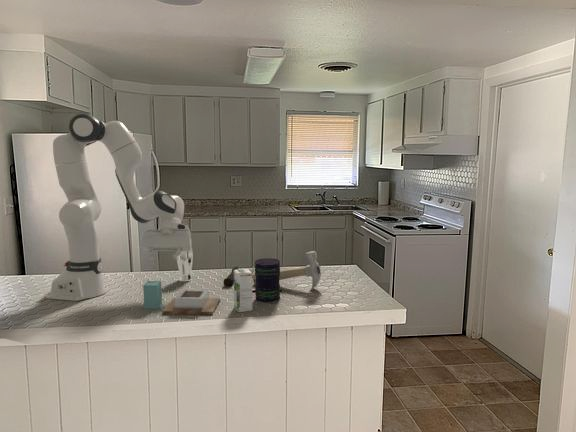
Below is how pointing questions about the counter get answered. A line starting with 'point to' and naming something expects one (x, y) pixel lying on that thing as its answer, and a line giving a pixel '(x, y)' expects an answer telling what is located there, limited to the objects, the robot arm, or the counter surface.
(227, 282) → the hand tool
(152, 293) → the teal peg
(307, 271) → the hammer
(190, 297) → the socket
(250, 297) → the syrup box
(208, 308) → the walnut board
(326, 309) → the counter surface
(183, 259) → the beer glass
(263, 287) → the storage jar
